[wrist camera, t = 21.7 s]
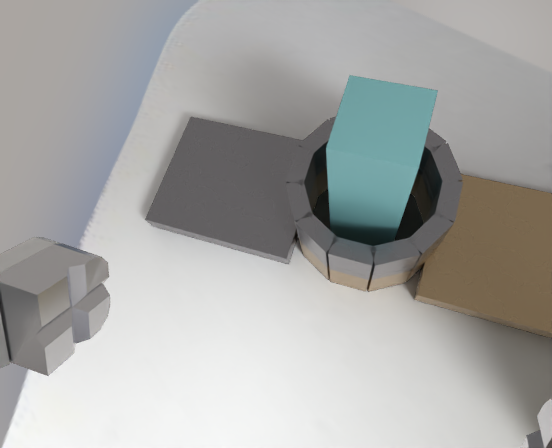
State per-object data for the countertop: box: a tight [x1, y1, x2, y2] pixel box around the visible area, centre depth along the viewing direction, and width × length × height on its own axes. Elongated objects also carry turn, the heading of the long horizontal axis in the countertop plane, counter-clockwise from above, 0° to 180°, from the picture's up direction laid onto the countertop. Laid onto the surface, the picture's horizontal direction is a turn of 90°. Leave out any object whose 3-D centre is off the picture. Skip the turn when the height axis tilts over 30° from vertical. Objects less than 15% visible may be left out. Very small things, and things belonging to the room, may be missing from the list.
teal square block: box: [326, 75, 438, 246], centre depth 29 cm, size 4×4×14 cm
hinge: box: [145, 117, 552, 338], centre depth 32 cm, size 34×11×7 cm, turn 72°
